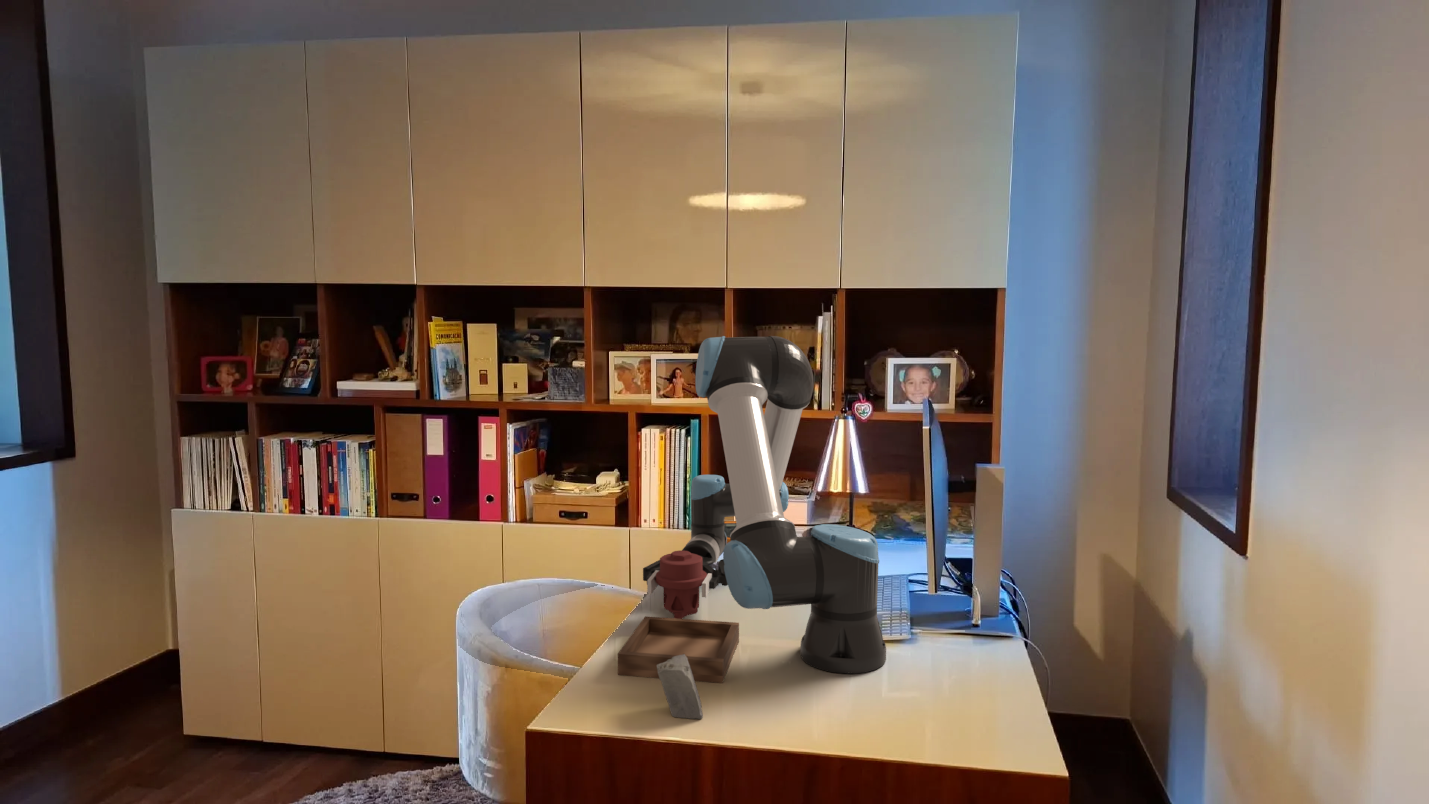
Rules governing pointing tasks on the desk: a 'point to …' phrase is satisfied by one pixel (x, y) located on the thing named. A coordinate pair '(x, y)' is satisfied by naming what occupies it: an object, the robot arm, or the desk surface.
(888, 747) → the desk surface
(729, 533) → the multimeter
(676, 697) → the mineral specimen
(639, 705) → the desk surface
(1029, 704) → the desk surface
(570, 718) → the desk surface
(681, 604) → the mechanical component
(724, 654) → the walnut tray
